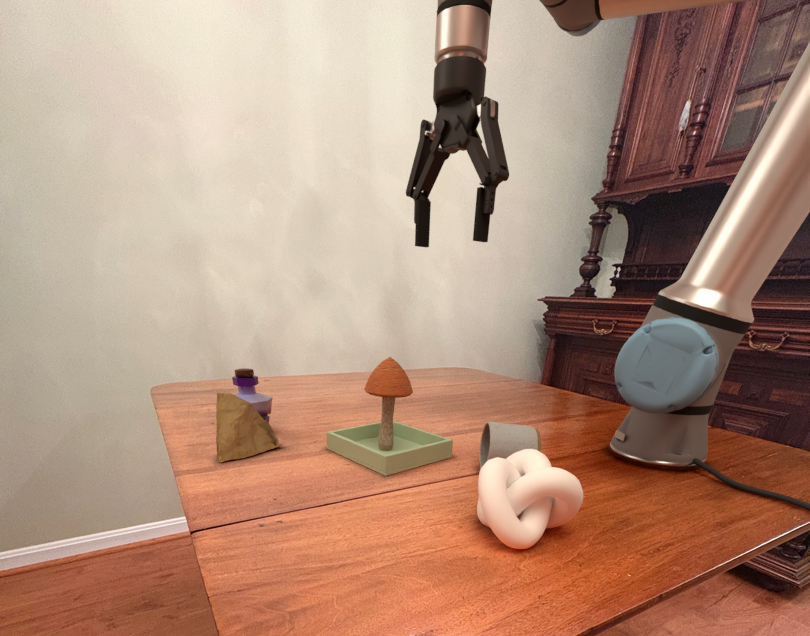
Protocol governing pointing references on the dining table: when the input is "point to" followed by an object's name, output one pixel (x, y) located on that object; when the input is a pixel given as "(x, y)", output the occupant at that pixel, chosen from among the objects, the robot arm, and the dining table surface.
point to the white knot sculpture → (525, 497)
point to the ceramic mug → (506, 440)
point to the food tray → (406, 452)
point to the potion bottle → (252, 392)
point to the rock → (241, 429)
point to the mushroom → (388, 395)
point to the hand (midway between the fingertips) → (449, 244)
